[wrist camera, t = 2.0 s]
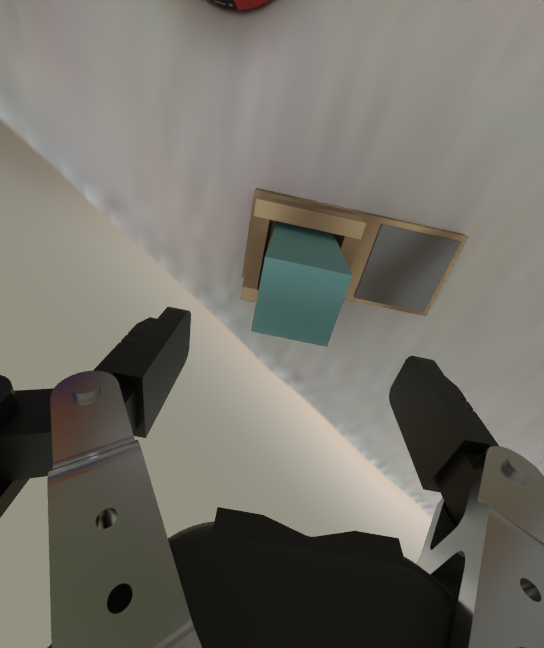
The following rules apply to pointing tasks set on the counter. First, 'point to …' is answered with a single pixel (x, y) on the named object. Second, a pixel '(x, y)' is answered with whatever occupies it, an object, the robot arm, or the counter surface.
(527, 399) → the counter surface
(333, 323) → the teal block
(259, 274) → the holder
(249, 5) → the canned food
